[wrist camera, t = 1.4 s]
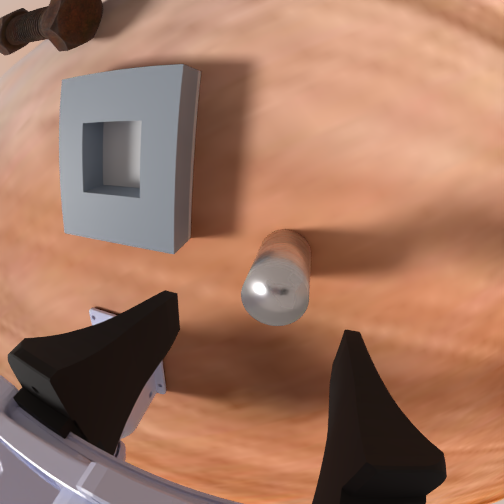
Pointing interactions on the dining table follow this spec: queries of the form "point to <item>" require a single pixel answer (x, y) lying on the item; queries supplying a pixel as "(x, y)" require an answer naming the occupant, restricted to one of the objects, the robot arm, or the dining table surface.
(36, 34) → the bolt
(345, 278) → the dining table surface
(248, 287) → the pin
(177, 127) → the hole block
